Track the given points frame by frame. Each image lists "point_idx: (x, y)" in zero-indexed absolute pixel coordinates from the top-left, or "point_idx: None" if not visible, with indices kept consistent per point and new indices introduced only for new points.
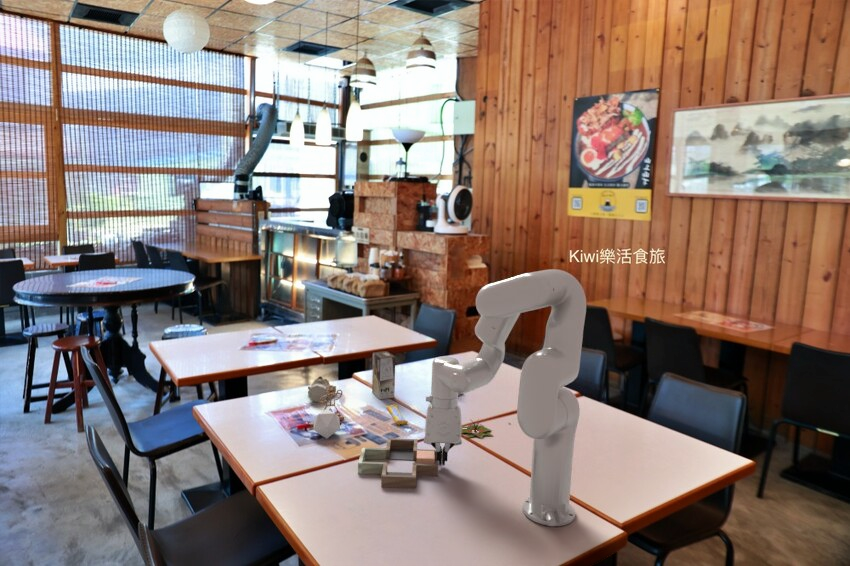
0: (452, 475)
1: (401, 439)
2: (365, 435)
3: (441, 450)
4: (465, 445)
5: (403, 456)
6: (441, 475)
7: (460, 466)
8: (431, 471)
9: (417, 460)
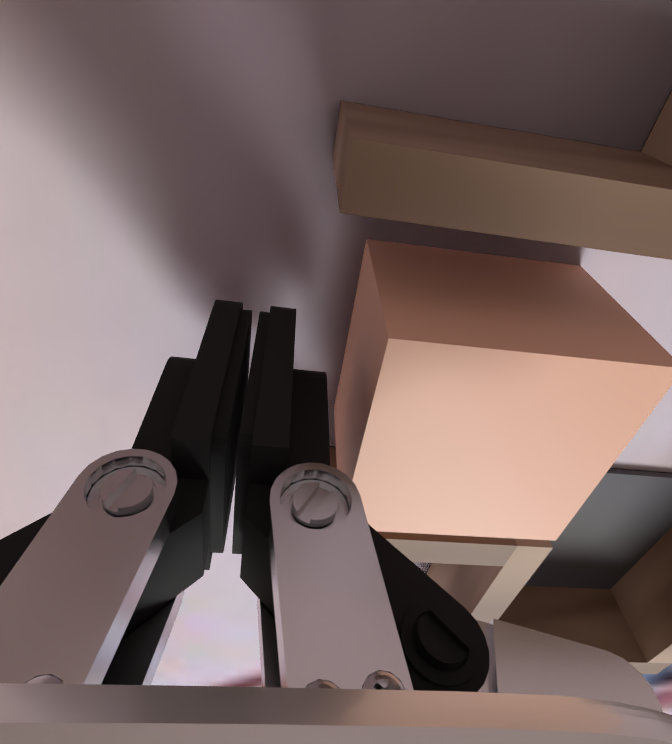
0: (110, 105)
1: None
2: (662, 676)
3: (245, 503)
4: None
5: None
6: (280, 120)
7: (31, 343)
8: (450, 130)
9: (648, 344)
